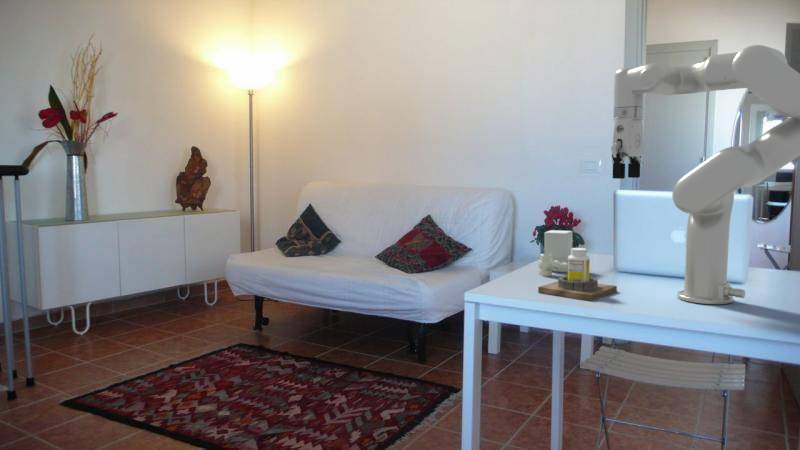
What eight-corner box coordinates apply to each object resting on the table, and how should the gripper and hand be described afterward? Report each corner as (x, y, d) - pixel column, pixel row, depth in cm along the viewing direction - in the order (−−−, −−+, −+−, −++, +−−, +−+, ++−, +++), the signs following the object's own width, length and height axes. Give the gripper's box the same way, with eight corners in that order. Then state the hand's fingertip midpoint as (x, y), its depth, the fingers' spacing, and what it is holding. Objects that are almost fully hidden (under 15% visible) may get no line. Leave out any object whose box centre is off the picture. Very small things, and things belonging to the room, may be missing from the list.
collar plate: (616, 291, 164) (617, 278, 164) (590, 300, 154) (590, 287, 153) (566, 284, 175) (566, 272, 174) (538, 292, 164) (538, 279, 164)
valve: (538, 277, 187) (579, 278, 184) (538, 255, 186) (579, 256, 183) (538, 273, 193) (578, 274, 190) (539, 252, 192) (578, 253, 190)
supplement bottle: (582, 283, 167) (582, 247, 166) (593, 287, 162) (594, 249, 161) (563, 285, 166) (564, 247, 165) (574, 289, 161) (574, 250, 160)
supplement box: (572, 269, 199) (573, 230, 198) (566, 272, 193) (566, 233, 192) (550, 267, 203) (551, 229, 202) (543, 270, 197) (543, 231, 196)
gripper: (628, 112, 157) (626, 179, 159) (654, 115, 170) (652, 177, 171) (600, 114, 162) (599, 178, 164) (628, 117, 175) (626, 177, 177)
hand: (626, 178), depth 168 cm, fingers open, 9 cm apart
